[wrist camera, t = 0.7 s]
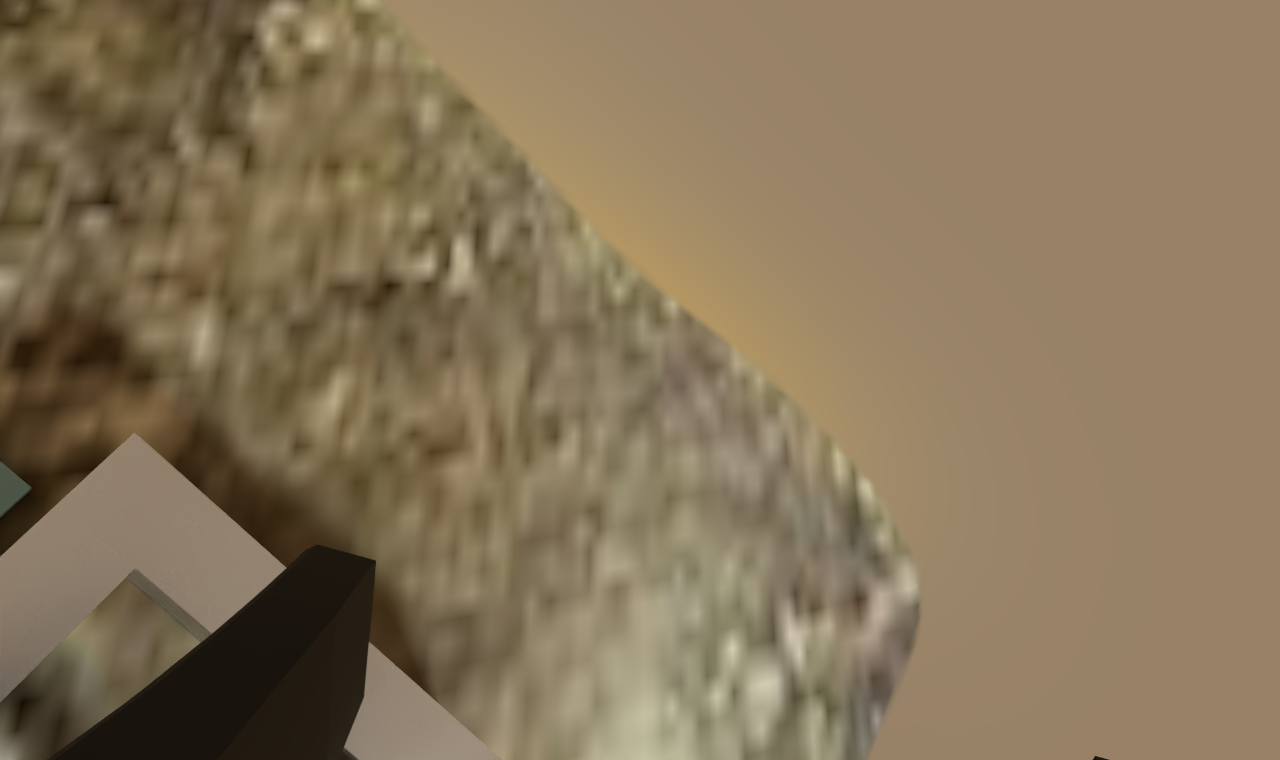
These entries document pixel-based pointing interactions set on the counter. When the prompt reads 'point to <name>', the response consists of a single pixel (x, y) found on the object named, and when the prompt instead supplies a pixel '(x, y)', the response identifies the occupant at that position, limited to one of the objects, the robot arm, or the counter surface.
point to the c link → (182, 591)
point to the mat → (10, 489)
